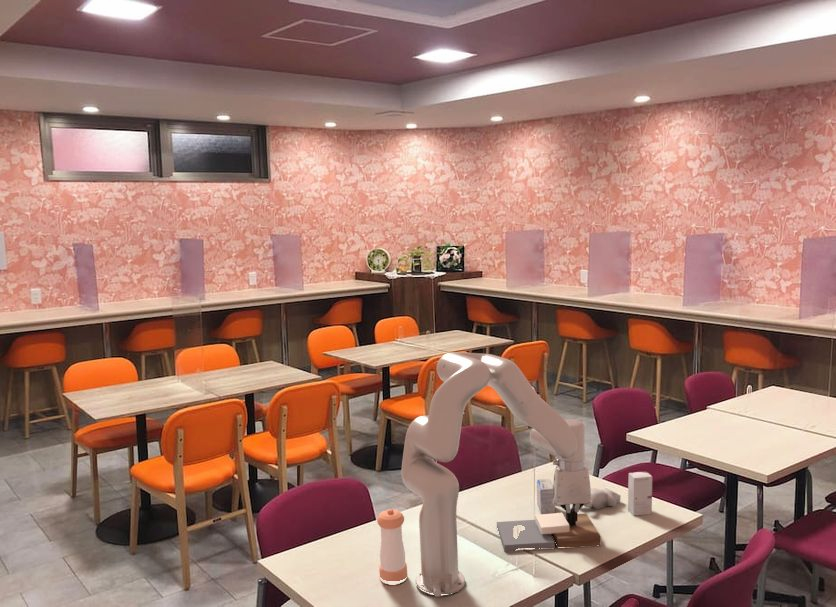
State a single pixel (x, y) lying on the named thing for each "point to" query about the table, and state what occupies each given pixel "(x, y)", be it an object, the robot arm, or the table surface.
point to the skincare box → (640, 493)
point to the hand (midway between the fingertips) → (571, 523)
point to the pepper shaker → (392, 546)
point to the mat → (523, 536)
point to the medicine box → (545, 496)
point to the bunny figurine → (603, 498)
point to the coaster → (552, 523)
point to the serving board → (578, 534)
